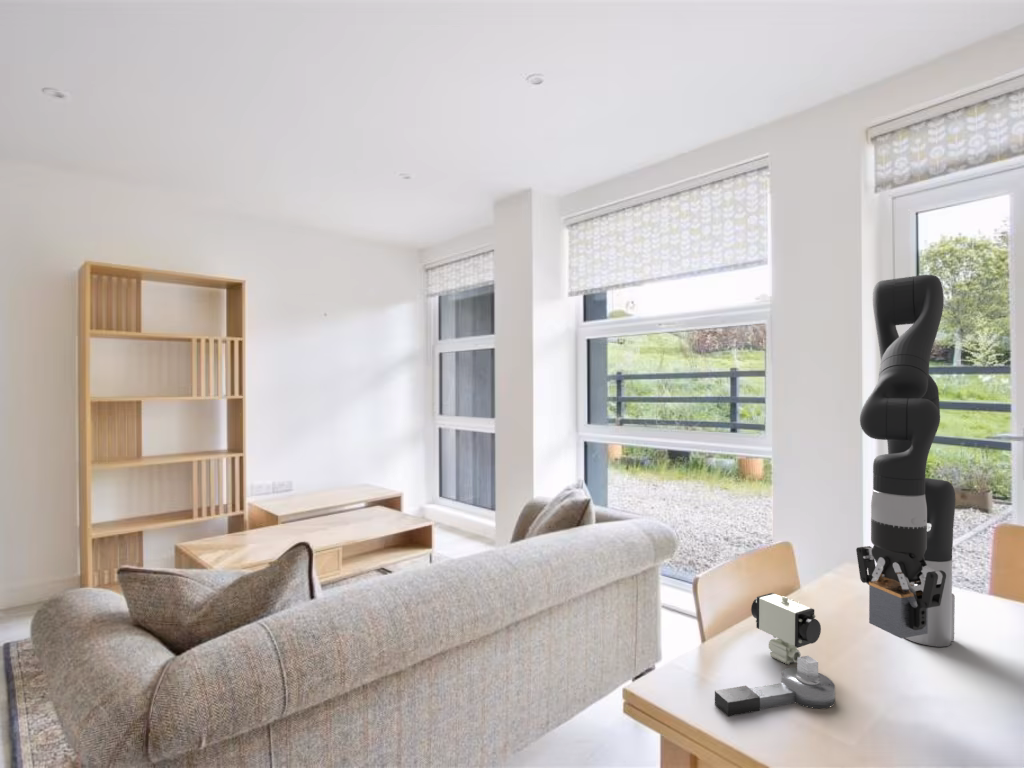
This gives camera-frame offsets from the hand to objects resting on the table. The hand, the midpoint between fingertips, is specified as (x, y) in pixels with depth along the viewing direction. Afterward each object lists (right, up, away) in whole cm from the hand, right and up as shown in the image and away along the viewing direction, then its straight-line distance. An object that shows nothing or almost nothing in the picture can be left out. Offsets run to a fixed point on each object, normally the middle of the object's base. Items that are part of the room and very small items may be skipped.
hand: (897, 619), depth 90 cm
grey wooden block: (0, -1, 0) cm, 1 cm away
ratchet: (-20, -14, +1) cm, 24 cm away
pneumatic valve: (-11, -14, +15) cm, 23 cm away
